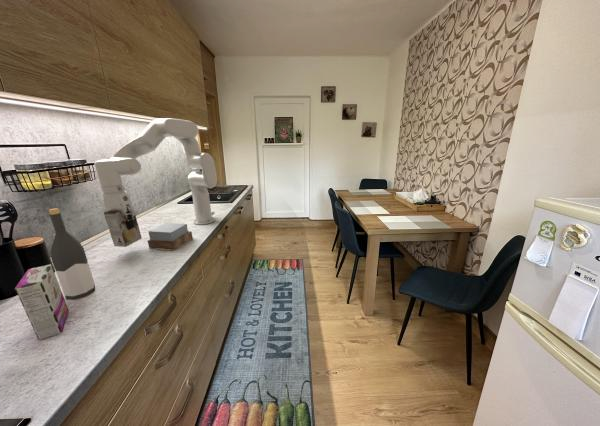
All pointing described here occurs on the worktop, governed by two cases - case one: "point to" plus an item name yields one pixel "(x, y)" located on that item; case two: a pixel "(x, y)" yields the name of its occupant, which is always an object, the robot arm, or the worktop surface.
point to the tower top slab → (168, 232)
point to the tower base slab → (171, 242)
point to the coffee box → (121, 229)
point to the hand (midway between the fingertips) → (124, 227)
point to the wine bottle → (70, 261)
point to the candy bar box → (43, 301)
